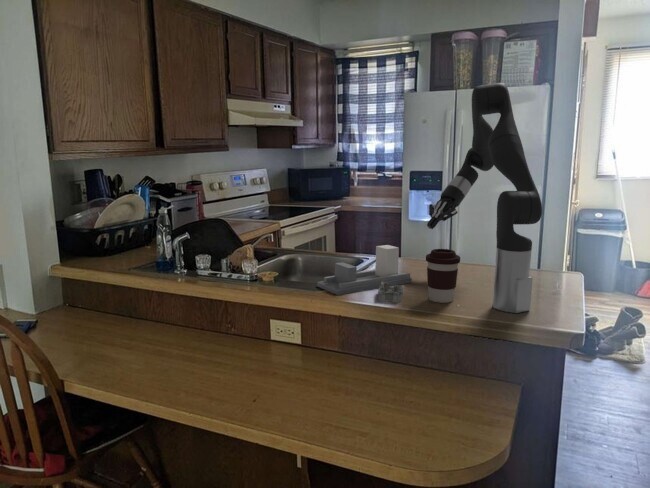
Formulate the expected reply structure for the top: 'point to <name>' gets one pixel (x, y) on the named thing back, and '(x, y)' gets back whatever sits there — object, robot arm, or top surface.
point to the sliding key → (386, 260)
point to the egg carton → (390, 292)
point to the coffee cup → (442, 274)
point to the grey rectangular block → (345, 272)
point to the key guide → (362, 282)
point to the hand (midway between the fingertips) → (429, 227)
